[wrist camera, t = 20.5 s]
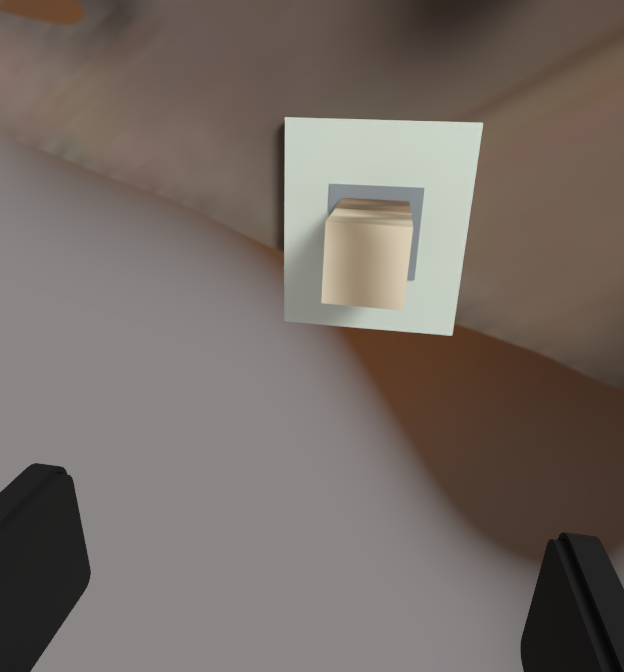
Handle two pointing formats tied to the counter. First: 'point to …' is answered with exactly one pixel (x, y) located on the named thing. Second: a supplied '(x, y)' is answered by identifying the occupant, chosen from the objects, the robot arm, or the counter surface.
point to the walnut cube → (374, 205)
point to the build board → (383, 184)
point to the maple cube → (366, 258)
